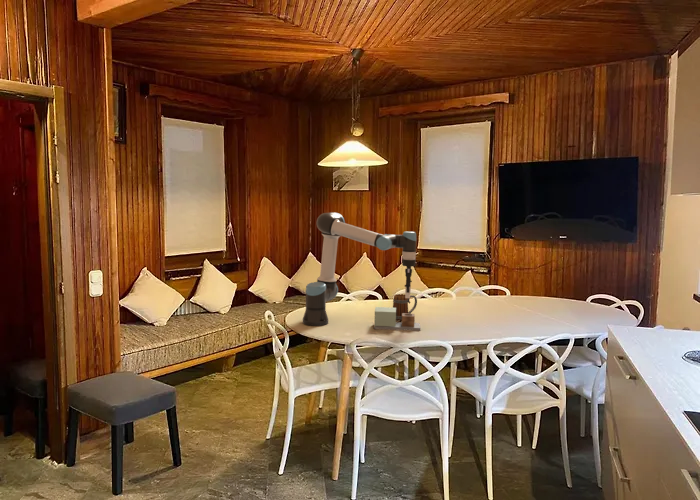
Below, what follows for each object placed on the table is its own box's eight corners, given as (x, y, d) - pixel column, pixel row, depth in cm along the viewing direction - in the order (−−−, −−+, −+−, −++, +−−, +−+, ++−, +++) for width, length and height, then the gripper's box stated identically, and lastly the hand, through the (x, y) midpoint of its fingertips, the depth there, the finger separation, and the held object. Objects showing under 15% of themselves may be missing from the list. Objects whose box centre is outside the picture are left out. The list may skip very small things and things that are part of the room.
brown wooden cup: (401, 326, 313) (402, 315, 312) (401, 323, 320) (402, 313, 319) (414, 326, 312) (414, 316, 311) (413, 323, 319) (414, 313, 318)
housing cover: (374, 325, 312) (374, 311, 311) (375, 320, 324) (375, 306, 323) (395, 326, 311) (395, 312, 310) (395, 321, 322) (396, 307, 322)
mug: (394, 321, 330) (394, 297, 328) (389, 317, 340) (390, 293, 339) (418, 320, 333) (419, 296, 331) (413, 317, 343) (414, 293, 342)
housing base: (374, 328, 312) (374, 317, 311) (375, 323, 324) (375, 312, 323) (420, 330, 310) (420, 319, 309) (419, 325, 321) (420, 314, 321)
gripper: (415, 261, 299) (414, 300, 301) (415, 256, 324) (414, 292, 326) (401, 261, 300) (400, 299, 302) (402, 256, 325) (401, 291, 327)
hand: (407, 295), depth 314 cm, fingers open, 13 cm apart
